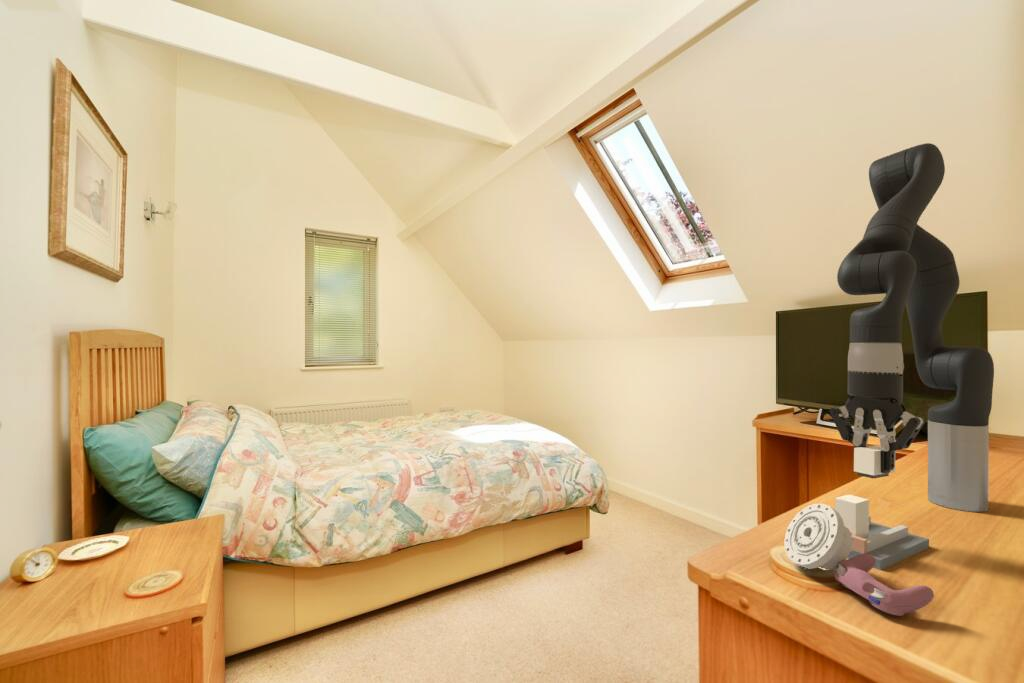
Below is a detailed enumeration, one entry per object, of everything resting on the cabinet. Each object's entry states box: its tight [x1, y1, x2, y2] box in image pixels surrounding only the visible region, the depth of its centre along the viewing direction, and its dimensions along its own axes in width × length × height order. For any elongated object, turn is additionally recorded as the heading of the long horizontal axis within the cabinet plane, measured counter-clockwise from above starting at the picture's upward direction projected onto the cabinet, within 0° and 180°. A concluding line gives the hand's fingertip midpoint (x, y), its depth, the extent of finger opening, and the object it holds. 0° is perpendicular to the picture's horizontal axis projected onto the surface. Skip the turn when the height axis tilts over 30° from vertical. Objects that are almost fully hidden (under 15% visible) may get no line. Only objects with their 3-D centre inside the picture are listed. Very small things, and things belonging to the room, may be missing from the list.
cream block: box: [853, 445, 896, 479], centre depth 80 cm, size 5×3×7 cm
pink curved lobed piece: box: [834, 554, 935, 617], centre depth 62 cm, size 10×5×7 cm
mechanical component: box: [783, 503, 854, 571], centre depth 70 cm, size 10×4×10 cm
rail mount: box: [834, 494, 930, 571], centre depth 78 cm, size 16×11×8 cm
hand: (873, 469), depth 80 cm, fingers closed on cream block, 2 cm apart
